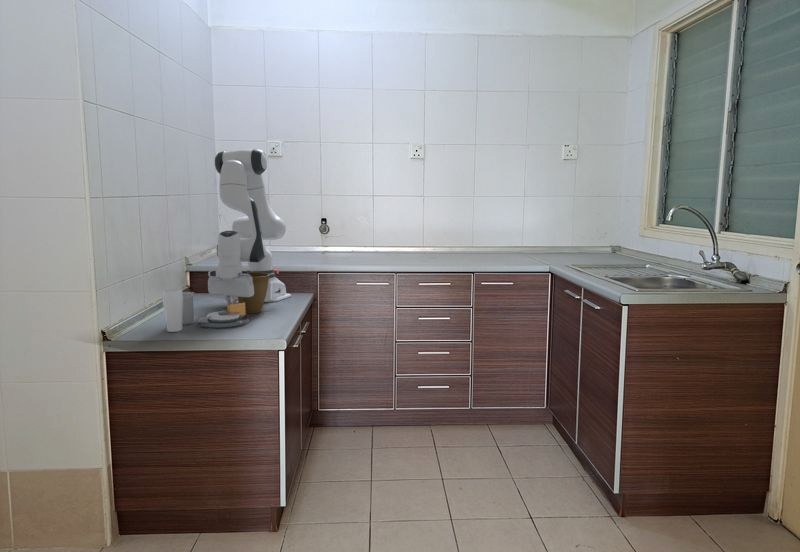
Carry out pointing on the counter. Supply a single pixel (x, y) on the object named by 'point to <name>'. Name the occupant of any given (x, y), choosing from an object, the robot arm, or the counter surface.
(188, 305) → the beverage can
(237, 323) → the dial plate
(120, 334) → the counter surface
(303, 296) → the counter surface
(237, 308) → the dial
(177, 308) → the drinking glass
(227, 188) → the robot arm
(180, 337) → the counter surface
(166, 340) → the counter surface
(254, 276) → the plant pot
